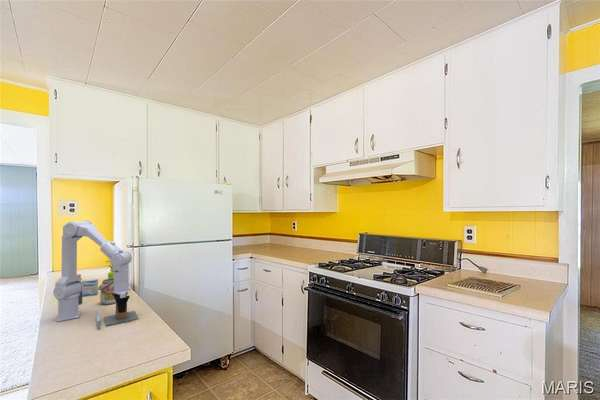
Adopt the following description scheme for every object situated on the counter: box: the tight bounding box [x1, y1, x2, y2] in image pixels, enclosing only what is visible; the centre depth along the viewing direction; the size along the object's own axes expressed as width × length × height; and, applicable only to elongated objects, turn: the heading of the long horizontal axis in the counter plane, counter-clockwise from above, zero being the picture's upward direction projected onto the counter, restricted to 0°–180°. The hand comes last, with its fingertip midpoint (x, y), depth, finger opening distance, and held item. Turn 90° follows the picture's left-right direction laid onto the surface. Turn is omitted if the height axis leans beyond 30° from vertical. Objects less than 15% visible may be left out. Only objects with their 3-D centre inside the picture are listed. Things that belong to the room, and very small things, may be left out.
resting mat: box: [103, 310, 139, 327], centre depth 129 cm, size 12×12×1 cm
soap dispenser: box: [105, 260, 114, 279], centre depth 166 cm, size 6×7×20 cm
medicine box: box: [81, 278, 99, 298], centre depth 168 cm, size 8×4×9 cm, turn 118°
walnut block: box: [115, 303, 128, 320], centre depth 129 cm, size 4×4×6 cm
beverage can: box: [98, 278, 117, 306], centre depth 152 cm, size 9×8×12 cm
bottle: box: [77, 273, 83, 306], centre depth 151 cm, size 6×6×15 cm
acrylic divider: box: [95, 309, 101, 331], centre depth 124 cm, size 16×1×4 cm, turn 36°
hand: (121, 310), depth 129 cm, fingers open, 5 cm apart
